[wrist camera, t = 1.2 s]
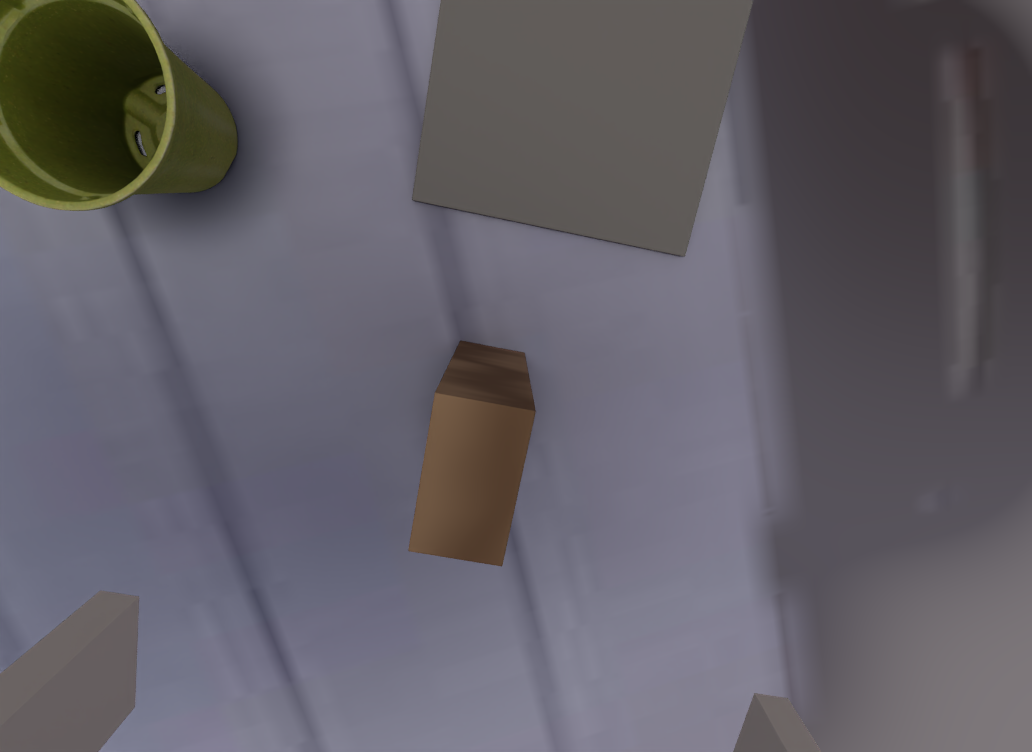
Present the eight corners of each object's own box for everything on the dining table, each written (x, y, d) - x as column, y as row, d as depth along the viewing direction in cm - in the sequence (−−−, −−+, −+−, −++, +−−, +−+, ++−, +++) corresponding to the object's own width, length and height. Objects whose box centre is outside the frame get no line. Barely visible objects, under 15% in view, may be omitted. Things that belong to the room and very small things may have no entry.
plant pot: (66, 62, 28) (-123, -20, 20) (235, 19, 28) (116, -83, 19) (135, 238, 30) (-9, 233, 22) (292, 200, 30) (208, 180, 21)
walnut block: (441, 446, 34) (408, 551, 22) (460, 340, 32) (434, 392, 20) (503, 457, 34) (502, 566, 22) (524, 352, 32) (535, 411, 21)
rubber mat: (413, 200, 30) (412, 199, 29) (454, -81, 27) (453, -89, 26) (681, 256, 31) (685, 256, 30) (751, -9, 28) (756, -14, 27)
